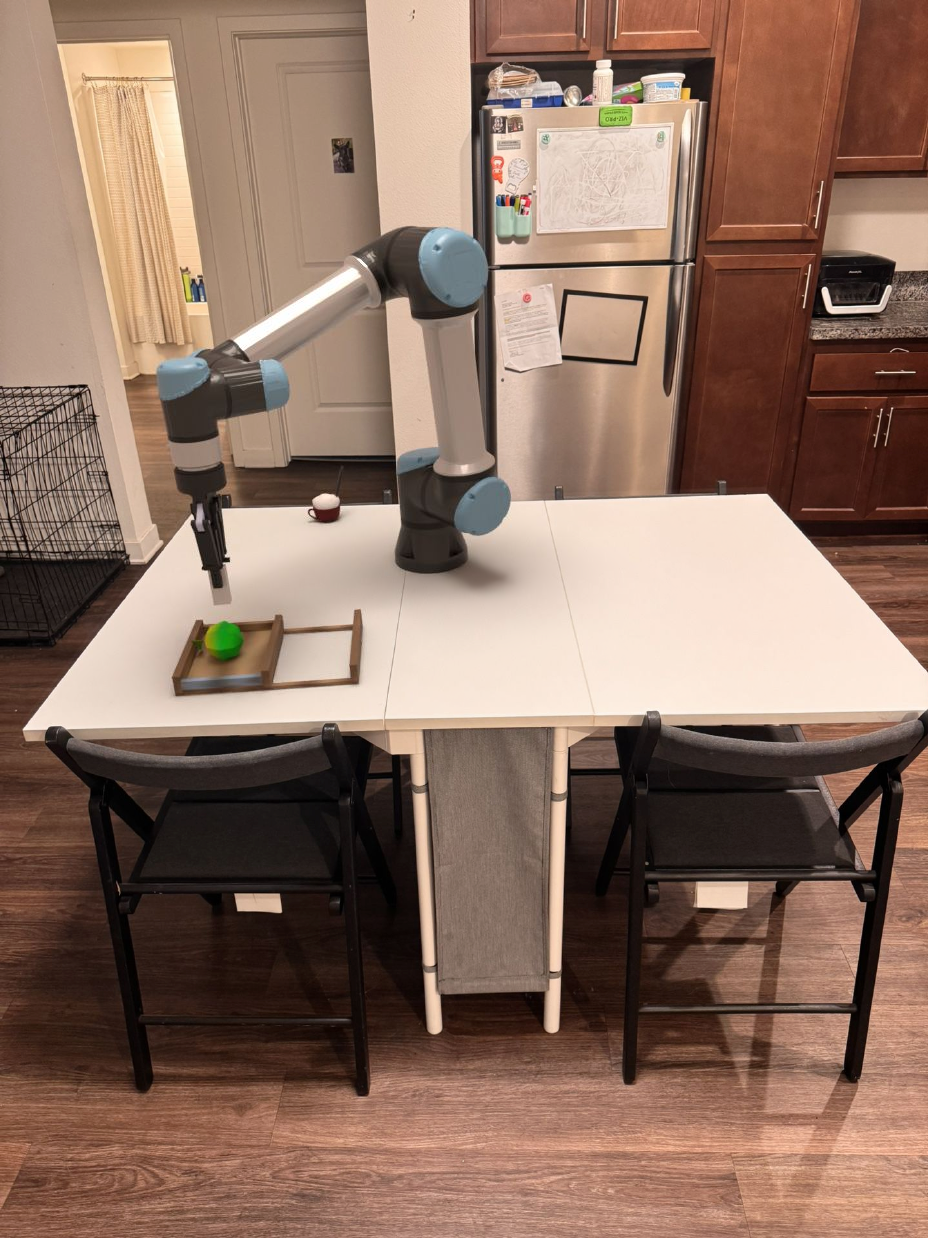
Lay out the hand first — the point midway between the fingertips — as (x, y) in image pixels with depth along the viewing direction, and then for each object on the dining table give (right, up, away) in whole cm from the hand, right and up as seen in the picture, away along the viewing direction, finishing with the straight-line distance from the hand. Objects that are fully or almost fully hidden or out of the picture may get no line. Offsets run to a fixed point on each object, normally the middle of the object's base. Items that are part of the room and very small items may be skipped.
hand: (222, 602), depth 152 cm
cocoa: (+8, +20, +64) cm, 68 cm away
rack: (+7, -10, +5) cm, 13 cm away
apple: (-2, -9, +5) cm, 11 cm away
